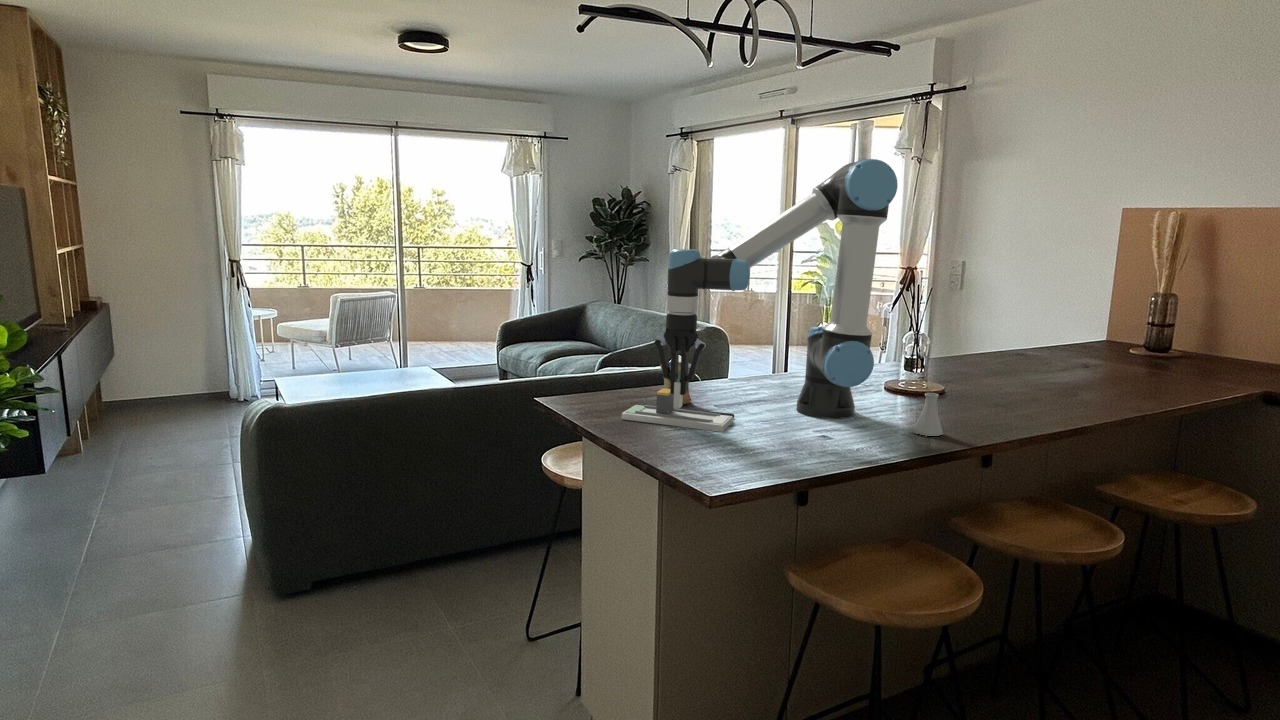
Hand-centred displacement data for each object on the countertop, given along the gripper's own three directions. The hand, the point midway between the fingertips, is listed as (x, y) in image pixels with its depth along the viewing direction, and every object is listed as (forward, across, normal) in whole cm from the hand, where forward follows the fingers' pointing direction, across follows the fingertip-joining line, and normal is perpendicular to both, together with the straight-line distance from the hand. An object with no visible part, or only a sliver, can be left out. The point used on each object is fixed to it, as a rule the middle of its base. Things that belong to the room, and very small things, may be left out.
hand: (677, 406), depth 192 cm
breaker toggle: (+2, +3, 0) cm, 4 cm away
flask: (+4, -59, -16) cm, 61 cm away
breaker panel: (+4, 0, 0) cm, 4 cm away
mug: (+4, +7, -19) cm, 21 cm away
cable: (+4, -1, -8) cm, 9 cm away
